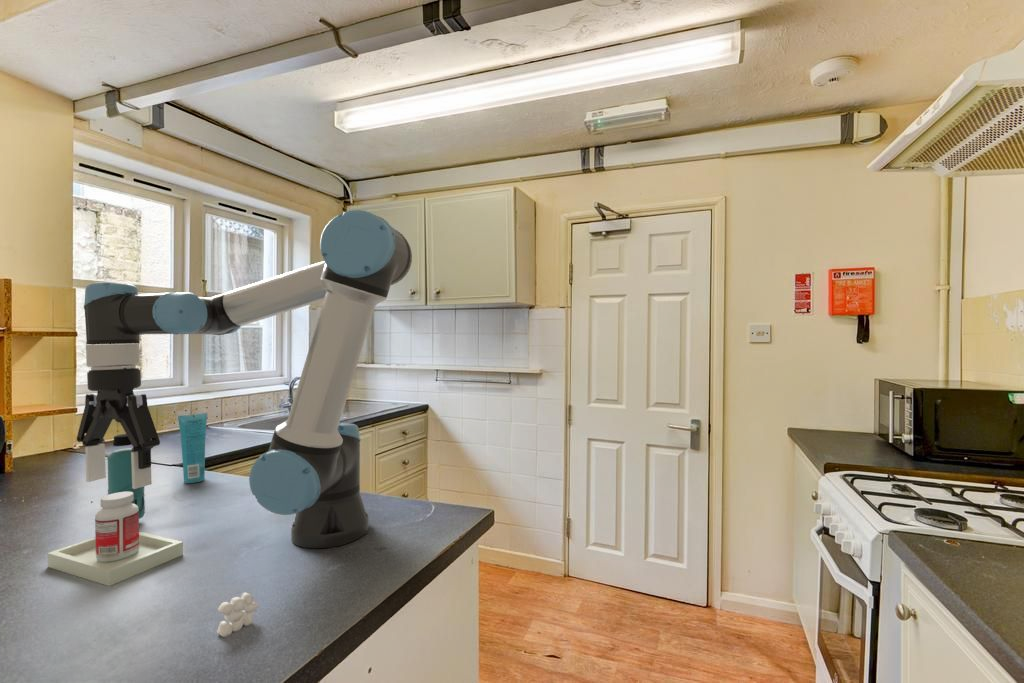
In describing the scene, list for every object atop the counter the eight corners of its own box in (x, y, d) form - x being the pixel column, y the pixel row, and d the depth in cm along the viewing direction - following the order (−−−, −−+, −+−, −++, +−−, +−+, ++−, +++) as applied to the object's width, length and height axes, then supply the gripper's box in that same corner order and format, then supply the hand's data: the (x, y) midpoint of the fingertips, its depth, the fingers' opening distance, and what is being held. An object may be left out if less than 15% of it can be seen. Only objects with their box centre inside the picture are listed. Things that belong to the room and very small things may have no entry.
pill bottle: (136, 544, 91) (135, 487, 91) (142, 554, 87) (141, 495, 87) (93, 555, 87) (92, 495, 87) (97, 566, 83) (97, 503, 82)
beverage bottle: (124, 532, 100) (123, 438, 99) (98, 530, 101) (97, 436, 101) (153, 520, 106) (152, 431, 106) (129, 518, 107) (128, 430, 107)
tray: (183, 554, 89) (182, 541, 89) (109, 586, 78) (109, 571, 78) (123, 540, 96) (123, 527, 96) (47, 566, 85) (47, 553, 85)
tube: (202, 476, 139) (201, 411, 139) (212, 478, 137) (211, 412, 137) (175, 483, 133) (174, 415, 133) (184, 485, 131) (184, 416, 130)
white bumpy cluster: (221, 639, 64) (223, 605, 64) (215, 635, 65) (218, 602, 65) (257, 623, 68) (259, 591, 69) (251, 620, 69) (254, 589, 69)
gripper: (180, 366, 85) (184, 482, 86) (97, 366, 95) (101, 471, 95) (134, 369, 78) (139, 496, 79) (49, 369, 88) (54, 482, 88)
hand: (118, 483), depth 87 cm, fingers open, 13 cm apart
